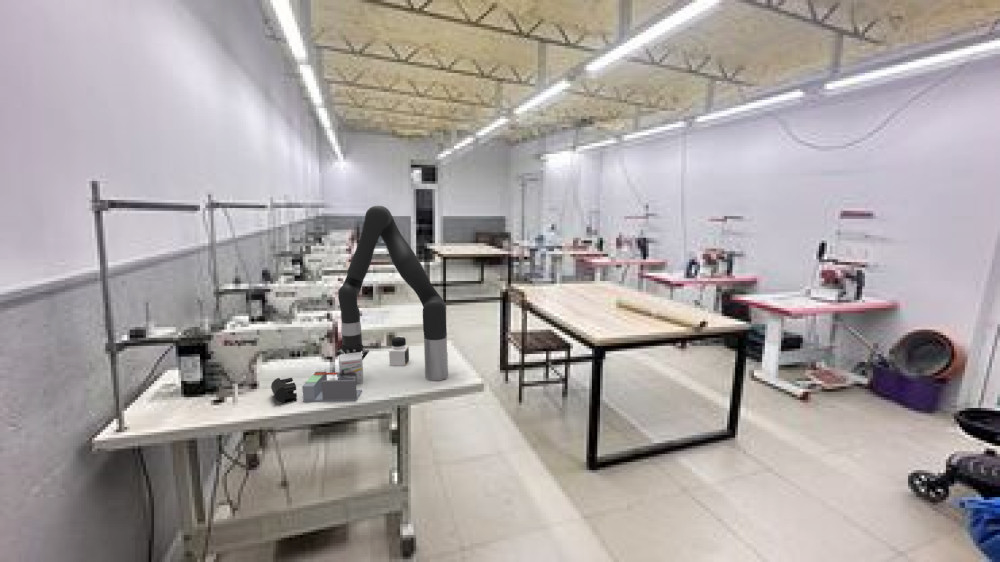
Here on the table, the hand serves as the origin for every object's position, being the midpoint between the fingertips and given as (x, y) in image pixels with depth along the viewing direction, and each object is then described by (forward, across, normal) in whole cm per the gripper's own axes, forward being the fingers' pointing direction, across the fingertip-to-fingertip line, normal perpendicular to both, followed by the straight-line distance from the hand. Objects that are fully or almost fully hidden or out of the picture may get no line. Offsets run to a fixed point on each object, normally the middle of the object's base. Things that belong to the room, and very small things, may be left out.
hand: (354, 372), depth 175 cm
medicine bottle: (+3, -15, -17) cm, 23 cm away
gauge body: (+3, +3, +13) cm, 14 cm away
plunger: (+2, +4, +10) cm, 11 cm away
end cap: (+3, +21, +17) cm, 27 cm away
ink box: (+2, 0, +3) cm, 4 cm away
